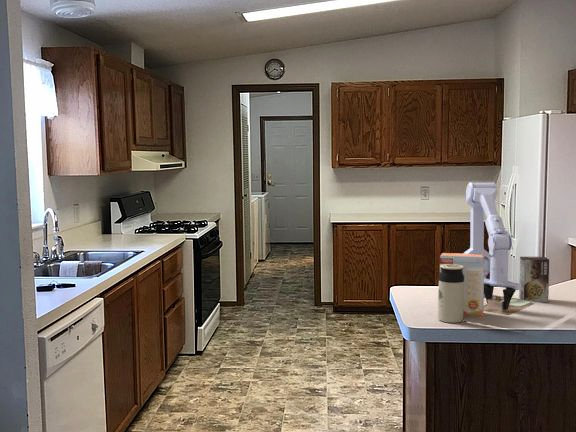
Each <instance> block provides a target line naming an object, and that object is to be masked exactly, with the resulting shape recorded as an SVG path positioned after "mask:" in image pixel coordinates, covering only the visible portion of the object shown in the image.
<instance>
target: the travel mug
mask: <svg viewBox="0 0 576 432" xmlns="http://www.w3.org/2000/svg"><path fill="white" fill-rule="evenodd" d="M440 267H441V272H440V271H439V274H438V304H437V309H438V310H437V319H438V320H439V321H440V322H443V323H448V324H456V323H461V322H463V321H464V315H463V305H464V275H463V273H462V270H463V268H464V267H463V266H462V265H457V264H442V265H440V264H439V268H440Z"/></svg>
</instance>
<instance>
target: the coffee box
mask: <svg viewBox="0 0 576 432" xmlns="http://www.w3.org/2000/svg"><path fill="white" fill-rule="evenodd" d="M549 276H550V258H548V257H545V256H520V257H519V281H518V282H519V284H521V288H520V290H518V293H519V294H518V298H519V299H518V300H522V301H528V302H532V303H533V302H534V303H549V292H550V291H549V289H550V286H549V284H550V283H549V282H550V277H549Z"/></svg>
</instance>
